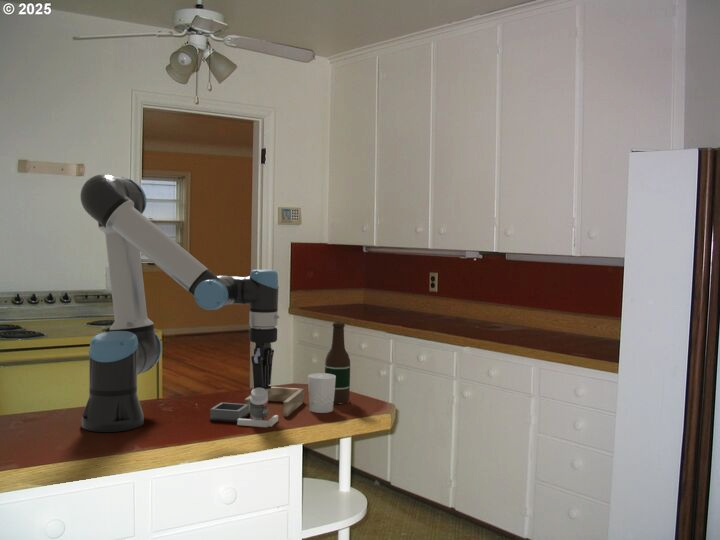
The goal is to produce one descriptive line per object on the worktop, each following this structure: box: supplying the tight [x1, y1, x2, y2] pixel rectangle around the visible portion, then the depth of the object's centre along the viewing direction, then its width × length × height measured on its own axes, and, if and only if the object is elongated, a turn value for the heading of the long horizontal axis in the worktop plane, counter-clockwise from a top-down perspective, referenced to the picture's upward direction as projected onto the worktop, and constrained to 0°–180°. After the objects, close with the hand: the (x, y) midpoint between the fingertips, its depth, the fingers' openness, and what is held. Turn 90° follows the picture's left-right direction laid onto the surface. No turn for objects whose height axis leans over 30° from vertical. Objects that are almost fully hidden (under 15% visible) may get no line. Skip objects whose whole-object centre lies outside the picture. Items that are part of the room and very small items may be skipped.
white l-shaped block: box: [236, 414, 279, 428], centre depth 193 cm, size 9×7×2 cm
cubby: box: [244, 386, 305, 417], centre depth 210 cm, size 12×18×4 cm
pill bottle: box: [249, 387, 269, 421], centre depth 193 cm, size 5×5×8 cm
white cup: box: [307, 372, 336, 414], centre depth 208 cm, size 8×8×10 cm
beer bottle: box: [324, 321, 351, 405], centre depth 220 cm, size 8×8×24 cm
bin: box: [209, 402, 250, 423], centre depth 198 cm, size 8×8×3 cm
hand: (261, 413), depth 198 cm, fingers closed
